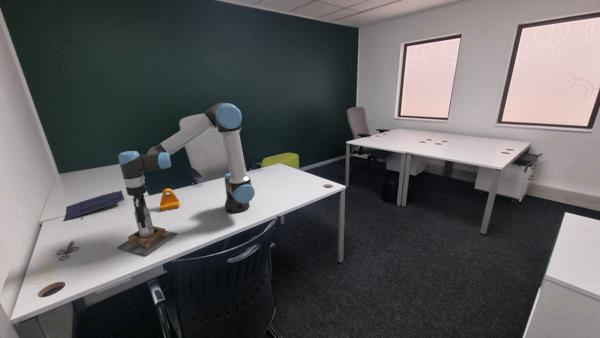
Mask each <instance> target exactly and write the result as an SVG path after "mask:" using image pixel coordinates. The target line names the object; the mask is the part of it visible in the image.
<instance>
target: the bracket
mask: <svg viewBox="0 0 600 338" xmlns="http://www.w3.org/2000/svg"><path fill="white" fill-rule="evenodd" d="M177 208H180V199H179V198H178V196H177V195H176V194H175V193H174V191H173V189H171V188H165V189H163V190H162V195H161V199H160V203H159V211H166V212H167V210H168V211H172V210H176V209H177Z"/></svg>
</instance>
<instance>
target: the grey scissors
mask: <svg viewBox="0 0 600 338" xmlns="http://www.w3.org/2000/svg"><path fill="white" fill-rule="evenodd" d="M74 243H75V241H74V240H71V241H70V242H69V245H68V246H67V248H66V249H61V250H59V251H57V252H56V255H58V256H60V255H63V256H60V257H59V258H58V260H59V261H65V260H67V259H69V258H70V255H69V253H70V252H75V251H77V250H79V246H73V245H74ZM73 249H74V250H73ZM60 252H61V253H60ZM64 257H65V258H64Z"/></svg>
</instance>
